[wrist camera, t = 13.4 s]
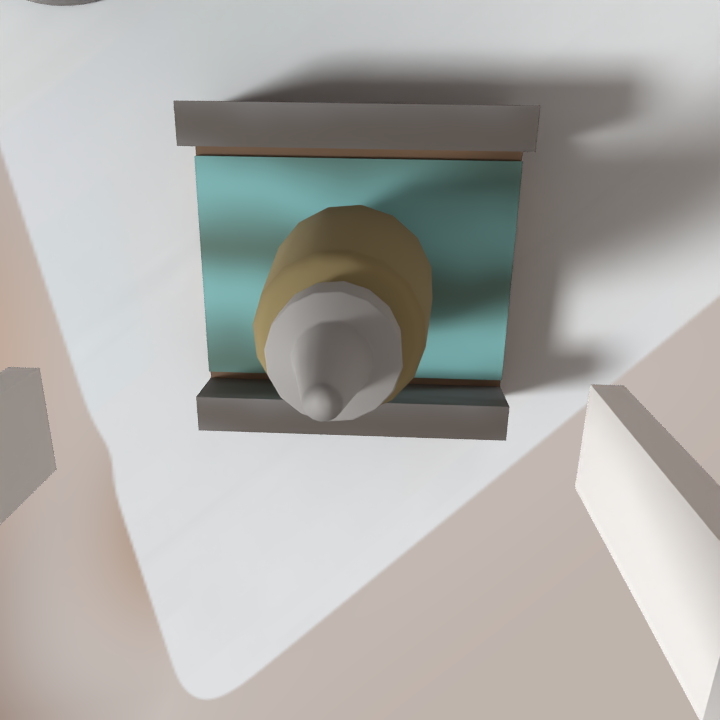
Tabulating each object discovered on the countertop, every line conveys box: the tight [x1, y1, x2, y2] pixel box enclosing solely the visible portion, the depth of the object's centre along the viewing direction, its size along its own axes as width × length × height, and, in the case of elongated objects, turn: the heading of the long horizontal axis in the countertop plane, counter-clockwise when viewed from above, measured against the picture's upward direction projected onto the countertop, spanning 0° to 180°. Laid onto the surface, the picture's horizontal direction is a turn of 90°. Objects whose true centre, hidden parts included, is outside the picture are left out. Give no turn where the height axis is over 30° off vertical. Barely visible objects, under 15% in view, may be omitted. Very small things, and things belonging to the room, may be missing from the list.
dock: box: [174, 101, 540, 440], centre depth 34 cm, size 17×17×6 cm
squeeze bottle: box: [253, 205, 433, 422], centre depth 26 cm, size 8×8×18 cm
